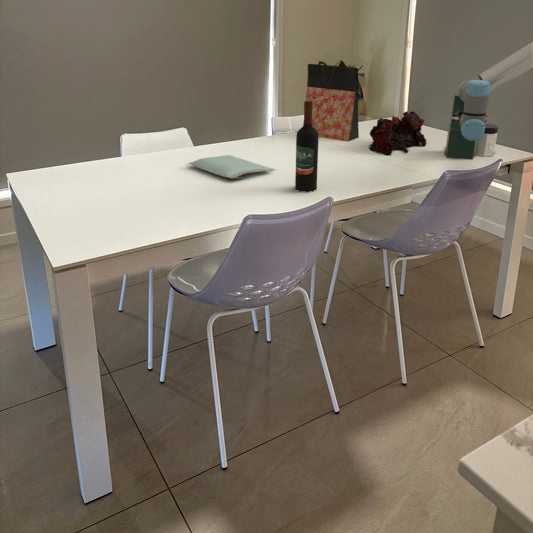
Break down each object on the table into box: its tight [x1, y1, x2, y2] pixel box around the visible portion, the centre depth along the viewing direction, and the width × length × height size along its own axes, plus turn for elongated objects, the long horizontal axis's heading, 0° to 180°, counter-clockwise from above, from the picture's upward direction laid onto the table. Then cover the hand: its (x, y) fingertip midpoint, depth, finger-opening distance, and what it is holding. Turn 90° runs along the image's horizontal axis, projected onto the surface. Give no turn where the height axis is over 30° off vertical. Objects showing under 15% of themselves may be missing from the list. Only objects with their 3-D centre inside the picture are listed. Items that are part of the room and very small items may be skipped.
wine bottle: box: [294, 100, 320, 193], centre depth 201 cm, size 8×8×30 cm
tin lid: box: [450, 94, 464, 129], centre depth 236 cm, size 13×11×1 cm
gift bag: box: [302, 59, 366, 142], centre depth 274 cm, size 29×14×35 cm, turn 53°
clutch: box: [188, 155, 273, 179], centre depth 228 cm, size 28×4×20 cm
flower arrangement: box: [368, 110, 427, 156], centre depth 259 cm, size 31×20×15 cm, turn 137°
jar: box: [473, 123, 499, 158], centre depth 248 cm, size 9×8×12 cm
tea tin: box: [445, 122, 476, 160], centre depth 247 cm, size 13×11×12 cm
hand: (466, 110), depth 234 cm, fingers closed
